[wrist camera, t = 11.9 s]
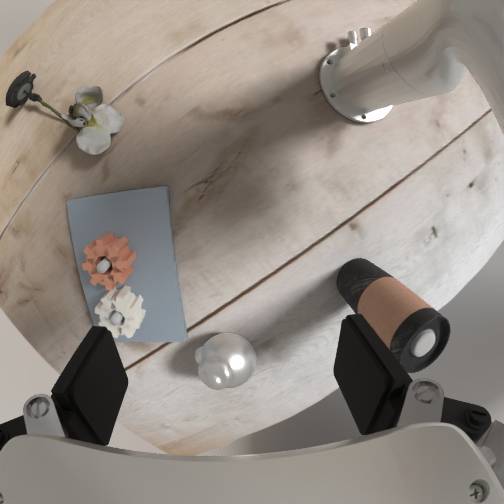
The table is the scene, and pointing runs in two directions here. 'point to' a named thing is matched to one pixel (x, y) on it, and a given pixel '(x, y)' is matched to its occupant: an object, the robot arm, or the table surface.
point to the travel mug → (394, 314)
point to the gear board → (145, 265)
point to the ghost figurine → (225, 361)
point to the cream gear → (126, 305)
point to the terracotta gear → (114, 252)
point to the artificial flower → (75, 113)
